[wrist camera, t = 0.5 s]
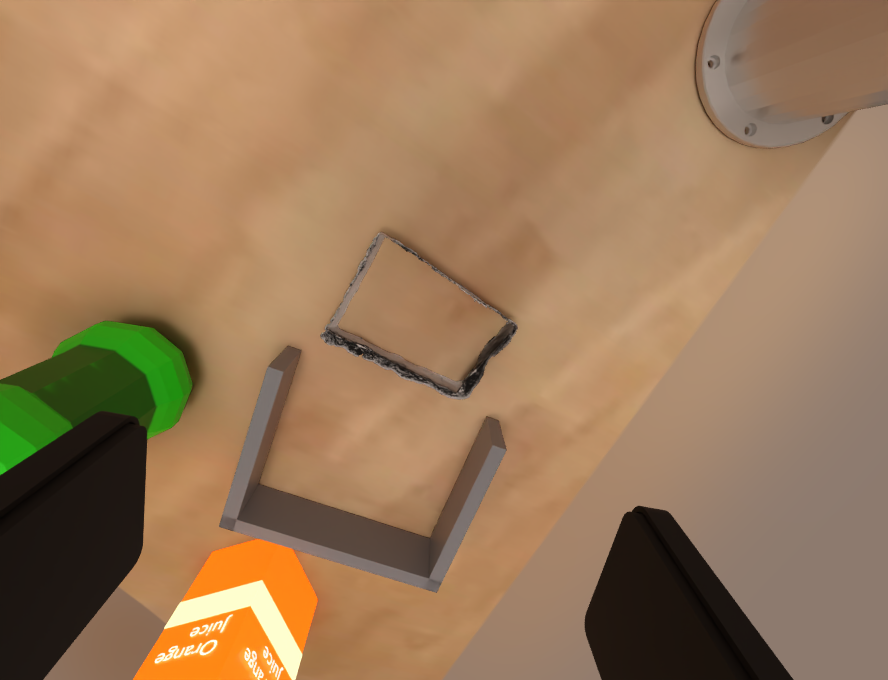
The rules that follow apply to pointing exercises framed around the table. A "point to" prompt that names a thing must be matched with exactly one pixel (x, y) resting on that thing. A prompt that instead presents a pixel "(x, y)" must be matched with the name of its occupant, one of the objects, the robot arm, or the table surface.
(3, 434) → the plastic bottle
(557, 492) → the table surface
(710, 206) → the table surface
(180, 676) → the orange juice
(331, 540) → the tray
